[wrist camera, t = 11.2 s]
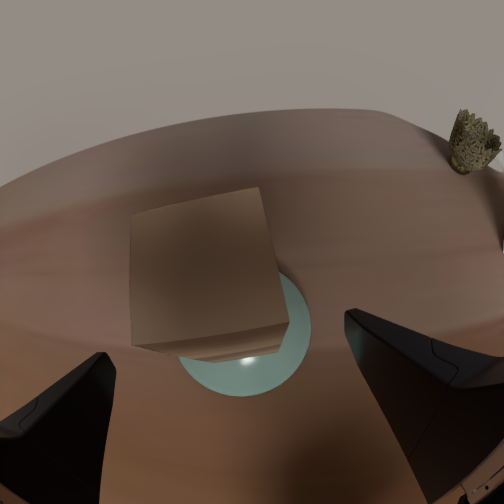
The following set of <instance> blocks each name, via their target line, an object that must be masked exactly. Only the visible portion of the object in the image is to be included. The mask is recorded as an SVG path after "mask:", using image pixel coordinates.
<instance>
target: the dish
mask: <svg viewBox="0 0 504 504" xmlns="http://www.w3.org/2000/svg"><path fill="white" fill-rule="evenodd" d="M279 275H280V279H281V284H282V288H283V292H284V297H285V301H286V306H287V310H288V315H289V319H290V323H289V326H288V328H287V331H286V333H285V336H284V339H283V341H282V344H281V346H280V349H279V351H278V352H277V353H272V354H267V355H261V356H256V357H250V358H244V359H238V360H232V361H225V362H218V363H210V362H204V361H199V360H193V359H188V358H183V357H179V356H178V357H179V359H180V361H181V363H182V364H183V366H184V367H185V369H186V370H187V371H188V373H189V374H190V375H191V376H192V377H193V378H194V379H195V380H197V381H198V382H199V383H200V384H202V385H204V386H205V387H207V388H209V389H211V390H213V391H215V392H218V393H221V394H225V395H231V396H252V395H257V394H261V393H264V392H267V391H269V390H272V389H273V388H275V387H277V386H279V385H280V384H282V383H283V382H284V381H286V380H287V379H288V378H289V377H290V376H291V375H292V374H293V373H294V372H295V371H296V369H297V368H298V367H299V365H300V364H301V362H302V360H303V358H304V357H305V354H306V352H307V349H308V346H309V341H310V334H311V321H310V315H309V311H308V308H307V305H306V302H305V300H304V298H303V296H302V294H301V293H300V291H299V290H298V288H297V287H296V286H295V285H294V284H293V283H292V282H291V281H290V280H289V279H288V278H287V277H286V276H284V275H283V274H281V273H280V272H279Z"/></svg>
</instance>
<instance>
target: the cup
mask: <svg viewBox="0 0 504 504" xmlns="http://www.w3.org/2000/svg"><path fill="white" fill-rule="evenodd" d="M493 132H494V129H490V130H489V131H488V125H487V122H484V123H483V121H482V118H478V119H476V120H475V114H472V115H469V112H468V110H463V111H462V110H461V109H460V111H459V114H458V116H457V118H456V121H455V124H454V127H453V130H452V133H451V136H450V140H449V147H450V151H451V155H450V164H451V166H452V168H453V169H454V170H455V171H456V172H457V173H459V174H461V175H467V174H469V173H470V171H473V172H476V171H480V170H482V169H483V168H485V167H486V166H487V165H488V164H489V163H490V162H491V161H492V160H493V159H494V158H495V157H496V156H497V154H498V153H499V152H500V151H501V150H502V149H499V147H500V145H501V142H499V141H500V137H499V136H497V135H493Z"/></svg>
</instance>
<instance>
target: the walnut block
mask: <svg viewBox="0 0 504 504" xmlns="http://www.w3.org/2000/svg"><path fill="white" fill-rule="evenodd" d="M129 287H130V320H131V337H132V345H133V346H137V347H141V348H144V349H148V350H152V351H157V352H161V353H165V354H169V355H174V356H179V357H183V358H188V359H193V360H199V361H204V362H210V363H218V362H225V361H232V360H238V359H244V358H250V357H256V356H261V355H267V354H272V353H277V352H278V351H279V349H280V346H281V344H282V341H283V339H284V336H285V333H286V331H287V328H288V326H289V323H290V319H289V315H288V310H287V306H286V301H285V297H284V292H283V288H282V284H281V279H280V275H279V270H278V266H277V262H276V258H275V253H274V249H273V245H272V241H271V236H270V232H269V228H268V224H267V220H266V216H265V212H264V207H263V203H262V199H261V195H260V191H259V187H255V188H249V189H244V190H238V191H233V192H228V193H223V194H218V195H213V196H208V197H203V198H198V199H194V200H189V201H185V202H180V203H176V204H171V205H167V206H163V207H159V208H155V209H150V210H146V211H142V212H139V213H135V214H132V220H131V237H130V270H129Z"/></svg>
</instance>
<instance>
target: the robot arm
mask: <svg viewBox="0 0 504 504" xmlns="http://www.w3.org/2000/svg"><path fill="white" fill-rule="evenodd" d="M344 322H345V324H344V329H345V335H346V338H347V340H348V342H349V345H350V347H351V350H352V352H353V355H354V357H355V360H356V362H357V365H358V367H359V369H360V371H361V373H362V375H363V377H364V378H365V380H366V382H367V384H368V386H369V387H370V389H371V391H372V393H373V395H374V397H375V398H376V400H377V402H378V404H379V406H380V408H381V410H382V412H383V413H384V415H385V417H386V419H387V421H388V423H389V425H390V427H391V429H392V431H393V433H394V435H395V436H396V438H397V440H398V442H399V444H400V446H401V448H402V450H403V452H404V454H405V456H406V458H407V459H408V463H409V465H410V467H411V469H412V471H413V473H414V475H415V477H416V479H417V481H418V483H419V485H420V488H421V490H422V492H423V494H424V496H425V498H426V501H427V503H428V504H433V503H435V502H437V501H438V500H440V499H442V498H443V497H445V496H446V495H448V494H450V493H451V492H453V491H454V490H456V489H457V488H459V487H460V486H462V488H463V490H464V491H465V494H464V495H463V496H461V497H460V499H459V501H458V504H504V357H495V356H490V355H486V354H482V353H478V352H475V351H471V350H467V349H463V348H460V347H457V346H453V345H450V344H447V343H445V342H442V341H439V340H436V339H434V338H430V337H428V336H426V335H423V334H421V333H418V332H415V331H413V330H410V329H408V328H405V327H403V326H400V325H397V324H395V323H392V322H390V321H387V320H385V319H382V318H380V317H377V316H375V315H372V314H370V313H367V312H364V311H362V310H359V309H357V308H354V309H350V310H347V311H346V312H345V315H344ZM115 380H116V368H115V366H114V364H113V363H112V361H111V359H110V357H109V356H108V354H107V353H106V352H97V353H95V354H94V355H92V356H91V357H90V358H88V359H87V360H86V361H84V362H83V363H82V364H80V365H79V366H77V367H76V368H75V369H73V370H72V371H71V372H69V373H68V374H67V375H65V376H64V377H63V378H61V379H60V380H59V381H57V382H56V383H54V384H53V385H52V386H50V387H49V388H48V389H46V390H45V391H44V392H42V393H41V394H40V395H39V396H37V397H36V398H34V399H33V400H32V401H30V402H29V403H27V404H26V405H25V406H23V407H22V408H20V409H19V410H17V411H16V412H14V413H13V414H11V415H9V416H8V417H6V418H5V419H3V420H2V421H0V504H99V497H100V484H101V475H102V466H103V459H104V452H105V445H106V439H107V433H108V427H109V422H110V417H111V411H112V406H113V398H114V389H115Z"/></svg>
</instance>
